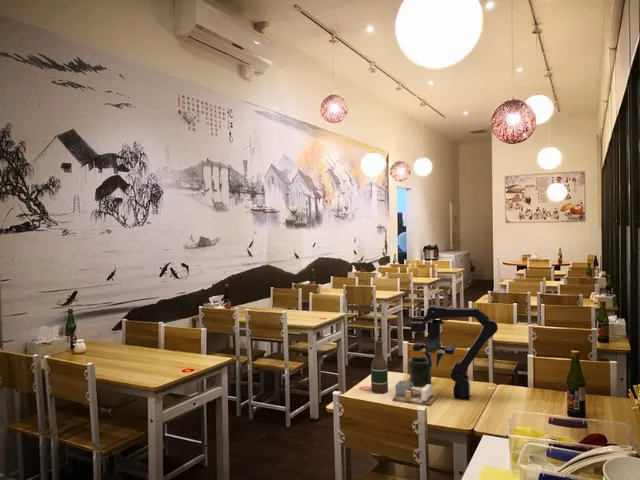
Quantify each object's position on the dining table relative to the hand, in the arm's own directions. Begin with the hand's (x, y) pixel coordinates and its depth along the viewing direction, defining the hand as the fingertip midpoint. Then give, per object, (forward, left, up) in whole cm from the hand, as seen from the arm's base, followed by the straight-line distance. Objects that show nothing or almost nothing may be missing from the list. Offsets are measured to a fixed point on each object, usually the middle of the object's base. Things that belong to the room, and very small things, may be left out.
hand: (434, 367), depth 229 cm
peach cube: (+9, +12, -12) cm, 19 cm away
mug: (+12, -15, -13) cm, 24 cm away
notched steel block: (+12, +7, -12) cm, 18 cm away
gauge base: (+7, +9, -13) cm, 17 cm away
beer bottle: (+25, +5, -13) cm, 29 cm away
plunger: (+5, +9, -12) cm, 15 cm away
